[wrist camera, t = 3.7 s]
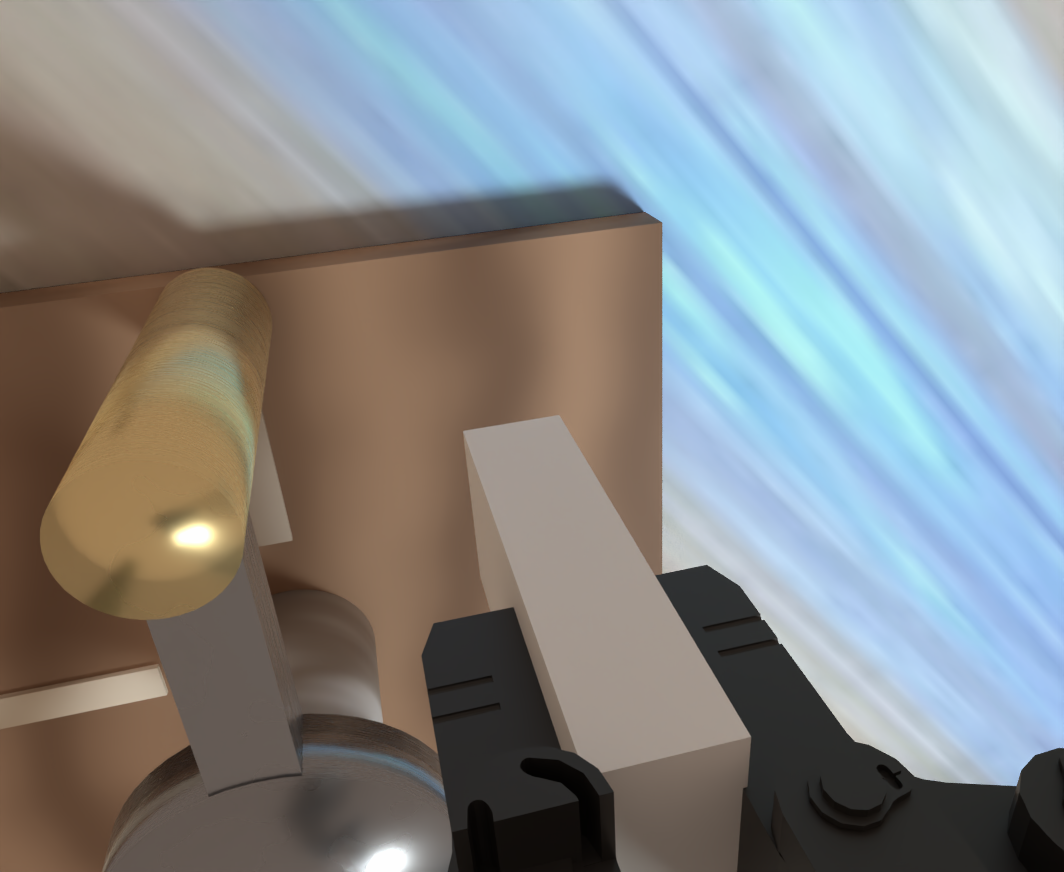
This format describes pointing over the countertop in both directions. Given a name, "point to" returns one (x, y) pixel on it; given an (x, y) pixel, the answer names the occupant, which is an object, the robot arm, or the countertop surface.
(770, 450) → the countertop surface
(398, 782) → the crank handle
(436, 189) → the countertop surface
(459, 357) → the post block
